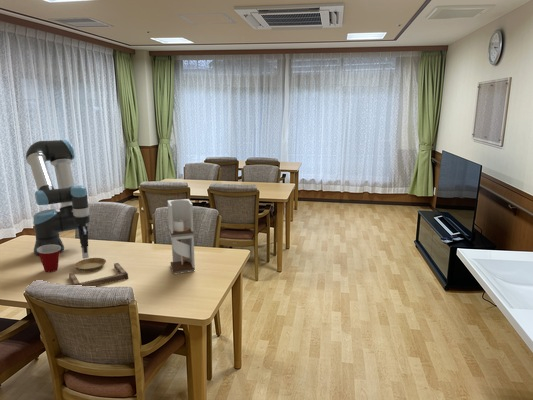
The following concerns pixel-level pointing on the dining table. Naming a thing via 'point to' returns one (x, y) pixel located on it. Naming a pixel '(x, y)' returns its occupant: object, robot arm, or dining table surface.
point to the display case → (181, 235)
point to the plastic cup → (49, 257)
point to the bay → (101, 281)
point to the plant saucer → (90, 264)
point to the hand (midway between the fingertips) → (85, 257)
